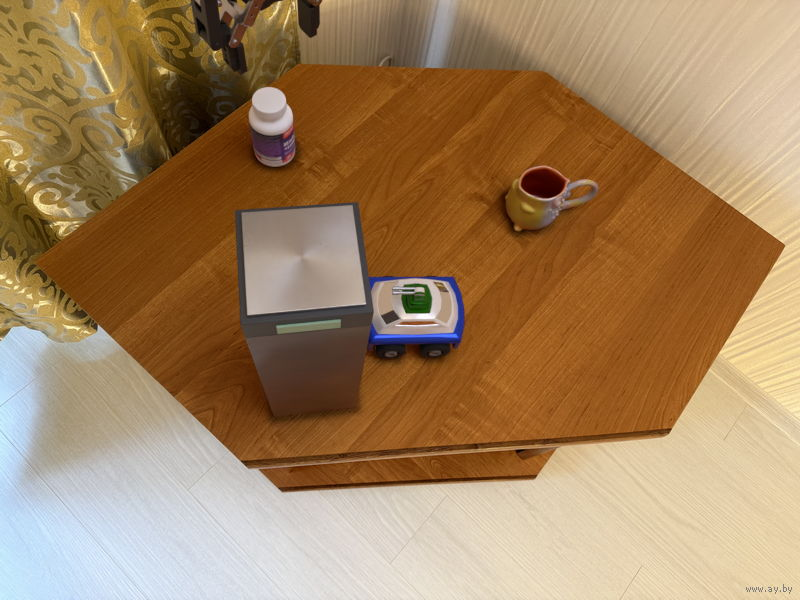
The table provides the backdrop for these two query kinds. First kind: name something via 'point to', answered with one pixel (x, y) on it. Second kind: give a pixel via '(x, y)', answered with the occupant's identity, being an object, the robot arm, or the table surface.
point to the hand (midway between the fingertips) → (273, 49)
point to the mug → (542, 197)
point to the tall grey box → (305, 303)
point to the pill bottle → (272, 127)
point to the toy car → (415, 315)
